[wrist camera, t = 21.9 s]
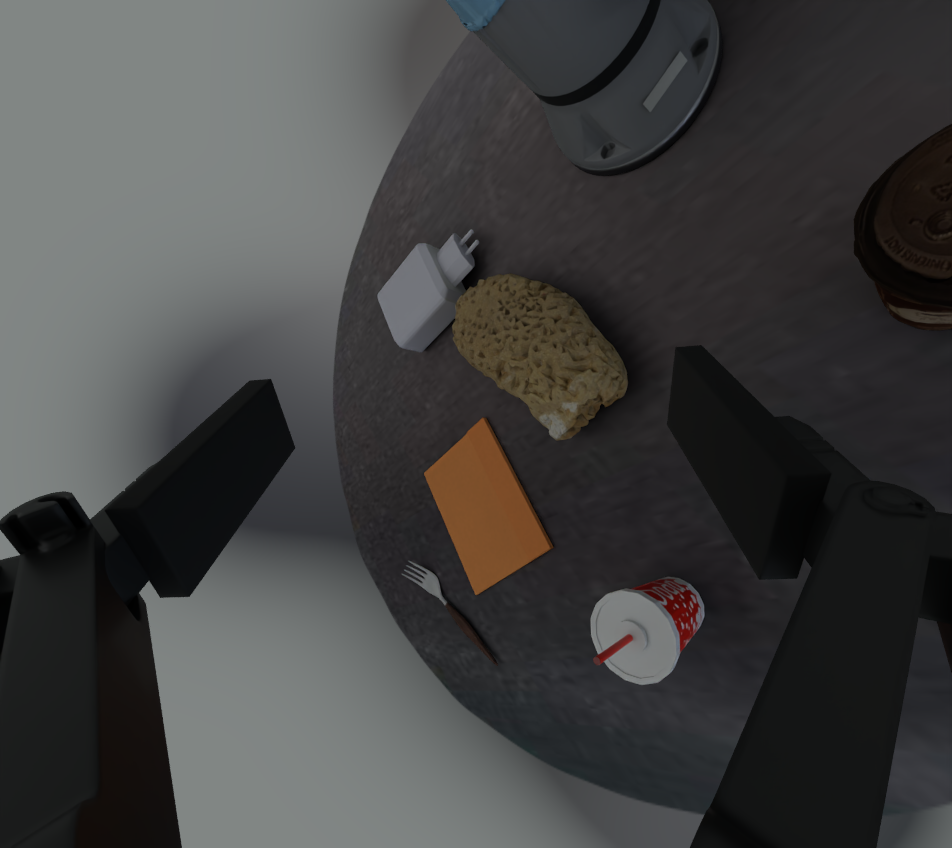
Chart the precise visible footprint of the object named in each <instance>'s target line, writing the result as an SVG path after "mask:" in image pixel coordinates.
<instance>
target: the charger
mask: <svg viewBox="0 0 952 848" xmlns="http://www.w3.org/2000/svg"><path fill="white" fill-rule="evenodd" d="M473 233H474V231H473V230H472V229H471V230H470V231H469V232H468V233H467V234H466V235H465V237H464V238H463V239H461V238H460V237H459V236H458V235H457V234H456V233H453V235H452V236H451V237H450V238H449V239H448V241H447V242H446V243H445V244H444V245H443V246H442V248H441V249H438V248H436V247H434V246H431V245H429V244H427V243H418V244H417V245H416V247H415V248H414V249H413V250H412V252H411V253H410V254H409V255H408V257H407V258H406V259H405V260H404V262H403V263H402V264H401V265H400V267H399V268H398V269H397V270H396V272H395V273H394V274H393V275H392V277H391V278H390V279H389V280H388V282H387V283H386V284H385V286H384V287H383V288H382V289H381V291H380V292H379V293H378V300H379V303H380V305H381V308H382V310H383V313H384V316H385V318H386V321H387V323H388V326H389V328H390V331H391V333H392V336H393V338H394V340H395V342H396V343H397V344H398V346H400V347H401V348H403V349H408V350H412V351H417V352H423V351H424V350H425V349H426V348H427V347H428V346H429V345H430V343H431V342H432V341H433V340H434V339H435V338H436V337H437V336H438V335H439V334H440V333H441V332H442V331H443V330H444V329H445V328H446V327H447V326H448V325H449V324H450V323H451V322H452V321H453V320H454V319H455V315H456V308H455V305H456V302H457V300H458V299H459V297H460V296H461V295H462V294H463V293H465V292H466V290H465V288H464V286H463V284H462V282H461V281H462V280H463V278H464V277H465V276H466V275H467V274H468V273H469V272H470V271H471V270H472V269H473V267H474V266H475V262H474V258H473V256H472V254H471V252H472V251H473V250H474V248H475V247H476V246H477V245H478V244H479V240H476V241H475V242H474V243H473V244H472V245H471V246H470V248H469V249H468V247H467V245H466V244H465V242H466V241H467V240H468V238H469V237H470V236H471V235H472V234H473Z"/></svg>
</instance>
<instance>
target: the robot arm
mask: <svg viewBox="0 0 952 848" xmlns="http://www.w3.org/2000/svg"><path fill="white" fill-rule="evenodd" d="M446 1H447V2H448V4H449V5H450V6H451V7H452V9H453V10H454V11H455V12H456V13H457V15H458V16H459V18H460V21H461V22H462V24H463V25H464V26H465V27H466V28H467V29H468V30H470V31H473V32H474V33H475V34H476V35H477V36H478V37H479V38H480V39H481V40H482V41H483V42H484V43H485V44H486V45H487V46H488V47H489V48H490V49H491V50H492V51H493V52H494V53H495V54H496V55H497V56H498V57H499V58H500V59H501V60H502V61H503V62H504V63H505V64H506V65H507V66H508V67H509V68H510V69H511V70H512V71H513V72H514V73H515V74H516V75H517V76H518V77H519V78H520V79H521V80H522V81H523V82H524V83H525V84H526V85H527V86H528V87H529V88H530V89H531V90H532V91H533V92H534V93H535V94H536V95H537V97H538V98H539V99H540V101H541V103H542V106H543V109H544V111H545V114H546V117H547V119H548V122H549V125H550V128H551V130H552V133H553V136H554V138H555V141H556V143H557V144H558V146H559V148H560V149H561V151H562V152H563V153H564V155H565V156H566V157H567V158H568V159H569V160H570V161H571V162H572V163H573V164H574V165H575V166H577V167H578V168H579V169H581V170H583V171H585V172H587V173H590V174H594V175H601V176H609V175H617V174H621V173H625V172H628V171H631V170H634V169H636V168H638V167H640V166H642V165H644V164H646V163H648V162H650V161H651V160H653V159H654V158H656V157H657V156H659V155H660V154H661V153H663V152H664V151H665V150H666V149H668V148H669V147H670V146H671V145H672V144H673V143H674V142H675V141H676V140H678V139H679V138H680V137H681V135H682V134H683V133H684V132H685V131H686V130H687V129H688V128H689V126H690V125H691V124H692V123H693V121H694V120H695V119H696V117H697V116H698V114H699V113H700V111H701V110H702V108H703V106H704V105H705V103H706V101H707V99H708V97H709V95H710V93H711V91H712V89H713V87H714V84H715V82H716V79H717V76H718V73H719V69H720V64H721V58H722V46H723V43H722V34H721V29H720V26H719V23H718V20H717V18H716V15H715V13H714V10H713V8H712V6H711V5H710V3H709V2H708V1H707V0H446ZM667 425H668V427H669V429H670V430H671V432H672V434H673V435H674V437H675V439H676V440H677V442H678V444H679V445H680V447H681V449H682V450H683V452H684V454H685V456H686V457H687V459H688V461H689V462H690V464H691V466H692V467H693V469H694V471H695V472H696V474H697V476H698V477H699V479H700V481H701V482H702V484H703V486H704V487H705V489H706V491H707V493H708V494H709V496H710V498H711V499H712V501H713V503H714V504H715V506H716V508H717V509H718V511H719V513H720V514H721V516H722V518H723V519H724V521H725V523H726V525H727V526H728V528H729V530H730V531H731V533H732V535H733V536H734V538H735V540H736V541H737V543H738V545H739V546H740V548H741V550H742V551H743V553H744V555H745V556H746V558H747V560H748V562H749V563H750V565H751V567H752V568H753V570H754V572H755V573H756V575H757V577H758V578H759V580H761V579H794V578H797V577H798V574H799V571H800V568H801V565H802V562H803V559H804V558H805V559H806V561H807V562H808V563H809V565H810V566H811V567H812V569H811V571H810V574H809V576H808V578H807V581H806V583H805V585H804V588H803V590H802V592H801V595H800V597H799V600H798V602H797V604H796V607H795V609H794V611H793V614H792V616H791V618H790V621H789V623H788V625H787V628H786V630H785V632H784V635H783V637H782V640H781V642H780V644H779V647H778V649H777V651H776V654H775V656H774V658H773V661H772V663H771V665H770V668H769V670H768V673H767V675H766V677H765V680H764V682H763V684H762V687H761V689H760V691H759V694H758V696H757V698H756V701H755V703H754V705H753V708H752V710H751V713H750V715H749V717H748V720H747V722H746V724H745V727H744V729H743V731H742V734H741V736H740V738H739V741H738V743H737V746H736V748H735V750H734V753H733V755H732V757H731V760H730V762H729V764H728V767H727V769H726V771H725V774H724V776H723V779H722V781H721V783H720V786H719V788H718V790H717V793H716V795H715V797H714V799H713V802H712V804H711V806H710V807H709V809H708V810H707V811H706V813H705V815H704V817H703V819H702V821H701V823H700V826H699V828H698V830H697V832H696V835H695V837H694V839H693V842H692V844H691V846H690V848H876V847H877V841H878V836H879V830H880V825H881V819H882V814H883V808H884V803H885V797H886V792H887V786H888V781H889V776H890V770H891V765H892V759H893V754H894V748H895V743H896V737H897V732H898V726H899V721H900V715H901V710H902V704H903V699H904V693H905V688H906V683H907V677H908V672H909V666H910V661H911V655H912V650H913V644H914V639H915V633H916V628H917V622H918V617H919V618H924V619H928V620H933V621H937V623H938V627H939V630H940V634H941V637H942V641H943V644H944V648H945V651H946V655H947V658H948V662H949V665H950V669H951V672H952V514H948V513H941V512H935V508H934V507H933V506H932V505H931V504H930V503H929V502H928V501H927V500H926V499H925V498H923V497H922V496H920V495H918V494H916V493H915V492H913V491H911V490H908V489H906V488H903V487H900V486H897V485H894V484H889V483H884V482H879V481H870V480H869V479H868V478H867V477H866V476H865V475H864V474H863V473H862V472H860V471H859V470H858V469H857V468H856V467H855V466H854V465H853V464H852V463H850V462H849V461H848V460H847V459H846V458H845V457H844V456H843V455H841V454H840V453H839V452H838V451H835V450H834V447H833V446H831V445H830V444H829V443H828V442H827V441H826V440H824V441H823V437H821V436H820V435H819V434H818V433H817V432H816V431H815V430H814V429H813V428H811V427H810V426H809V425H807V424H805V423H803V422H801V421H798V420H796V419H794V418H792V417H790V416H784V417H774V416H773V415H772V414H771V413H770V412H769V411H768V410H767V409H766V408H765V407H764V406H763V405H762V404H761V403H760V402H759V401H758V400H757V399H756V398H755V397H754V396H753V395H751V394H750V393H749V392H748V391H747V390H746V389H745V388H744V387H743V386H742V385H741V384H740V383H739V382H738V381H737V380H736V379H735V378H734V377H733V376H732V375H731V374H730V373H729V372H728V371H727V370H726V369H725V368H724V367H723V366H722V365H721V364H720V363H719V362H718V361H717V360H716V359H715V358H714V357H713V356H712V355H711V354H710V353H709V352H708V351H707V350H706V349H705V348H704V347H703V346H702V345H700V346H687V347H676V349H675V358H674V367H673V376H672V385H671V394H670V403H669V412H668V421H667ZM294 449H295V446H294V443H293V440H292V437H291V434H290V431H289V429H288V426H287V423H286V420H285V417H284V414H283V412H282V409H281V406H280V403H279V400H278V397H277V394H276V392H275V389H274V386H273V383H272V381H271V379H267V380H254V381H249V382H248V383H246V384H245V385H244V386H243V387H242V388H241V389H240V390H239V391H238V392H236V393H235V394H234V395H233V396H232V397H231V398H230V399H229V400H227V401H226V402H225V403H224V404H223V405H222V406H221V407H220V408H218V410H216V411H215V412H214V413H213V414H212V415H211V416H209V417H208V418H207V419H206V420H205V421H204V422H203V423H202V424H200V425H199V426H198V427H197V428H196V429H195V430H194V431H193V432H192V433H190V434H189V435H188V436H187V437H186V438H185V439H184V440H183V441H181V443H179V444H178V445H177V446H176V447H175V448H174V449H172V450H171V451H170V452H169V453H168V454H167V455H166V456H165V457H163V458H162V459H161V460H160V461H159V462H158V463H156V464H154V465H152V466H151V467H149V468H148V469H147V470H146V471H145V472H143V474H141V475H140V476H139V477H138V478H137V479H136V481H134V482H132V483H131V484H130V485H129V486H128V487H127V488H126V489H125V491H122V492H121V493H120V494H119V495H117V496H116V497H115V498H114V499H113V500H112V501H111V502H110V503H108V504H107V505H106V506H105V507H104V508H103V509H102V510H101V511H99V512H98V513H97V514H96V515H95V516H94V517H93V518H91V519H89V518H88V516H87V515H86V514H85V512H84V510H83V509H82V507H81V506H80V504H79V503H78V502H77V500H76V498H75V497H74V496H73V494H72V493H69V492H56V493H51V494H47V495H44V496H41V497H38V498H35V499H33V500H31V501H28V502H26V503H24V504H22V505H20V506H19V507H17V508H15V509H14V510H12V511H11V512H9V513H8V514H7V515H6V516H5V517H3V518H2V519H1V520H0V530H1V531H2V533H4V535H5V536H6V538H7V539H8V540H9V541H10V543H11V544H12V545H13V546H14V547H15V549H16V550H17V551H18V552H19V554H20V555H19V556H15V557H11V558H7V559H3V560H0V848H182V846H181V839H180V832H179V825H178V819H177V812H176V805H175V799H174V791H173V785H172V778H171V772H170V764H169V758H168V751H167V744H166V738H165V731H164V724H163V717H162V710H161V703H160V697H159V690H158V683H157V676H156V670H155V663H154V657H153V650H152V643H151V636H150V629H149V622H148V617H147V616H148V615H147V609H146V604H145V602H144V600H143V598H142V597H141V596H140V594H139V592H140V591H141V589H142V588H143V587H144V586H145V585H146V583H147V582H148V581H150V582H151V584H152V586H153V587H154V589H155V590H156V592H157V593H158V595H159V596H160V598H163V597H190V595H191V594H192V592H193V591H194V589H195V588H196V587H197V585H198V584H199V582H200V581H201V580H202V578H203V577H204V576H205V574H206V573H207V571H208V570H209V569H210V567H211V566H212V564H213V563H214V562H215V560H216V559H217V557H218V555H220V553H221V552H222V550H223V549H224V547H225V546H226V545H227V543H228V542H229V540H230V539H231V537H232V536H233V535H234V533H235V532H236V531H237V529H238V528H239V526H240V525H241V524H242V522H243V521H244V519H245V518H246V517H247V515H248V514H249V512H250V511H251V510H252V508H253V507H254V505H255V504H256V502H257V501H258V500H259V498H260V497H261V495H262V494H263V493H264V491H265V490H266V488H267V487H268V486H269V484H270V483H271V481H272V480H273V478H274V477H275V475H276V474H277V473H278V472H279V470H280V469H281V467H282V466H283V465H284V463H285V462H286V460H287V459H288V457H289V456H290V455H291V453H292V452H293V450H294Z"/></svg>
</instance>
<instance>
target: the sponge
mask: <svg viewBox="0 0 952 848" xmlns="http://www.w3.org/2000/svg"><path fill="white" fill-rule="evenodd" d="M455 308H456V315H455V322H454V323H453V325H452V328H453V334H454V338H453V340H454V342H455V344H456V346H457V348H458V350H459V353H460V354H461V355H462V356H463V357H465V358H466V360H467V361H468V362H469V363H470V364H471V365H472V366H473V367H474V368H476V369H477V370H478V371H481V372H483V375H484V376H487V377H491V378H492V379H493V380H494V381H495V382H496V383H497V385H498V387H499V388H500V389H505V390H506V391H507V392H509V393H510V394H512V395H514V396H515V397H519V398H520V399H521V400H523V401H524V402H525V403H526V404H527V405H528V406H529V409H530V411H531V413H532V415H533V416H534V417H535V418H536V419H537V420H538V421H539V422H540V423H541V424H542V425H543V426H545V427H546V428H548V429H549V435H550V436H552V437H553V438H554V439H555V440H556V441H557V440H565V439H570V438H571V437H572V436H574V435H575V434H576V433H578V432H579V431H580V429H581V427H583V426H586V425H588V422H589V421H588V420H590V419H593V418H595V414H596V413H597V412H598V410H599V409H600V405H601V404H604V406H605V407H607V406H609V405H611V404H612V403H613V402H614V401H616V400H617V399H620V398H622V397H623V396H624V394H625V392H626V389H627V385H628V379H627V371H626V368H625V366H624V363H623V361H622V359H621V357H620V356H619V354H618V353H617V351H616V350H615V348H614V347H613V345H612V344H611V343H610V342H609V341H607V340H606V339H605V338H604V336H603V335H602V334H601V333H600V331H599V330H598V329H597V328H596V327H595V326H594V325H593V323H592V322H591V321H590V319H589V317H588V315H587V314H586V313H585V311H584V310H583V308H582V307H581V305H580V304H579V303H578V302H577V301H576V300H575V299H574V298H573V297H571V296H569V295H568V294H567V293H566V292H565V293H563V292H561V291H560V290H559V289H558V288H554V287H553V286H551V285H549V284H548V283H542V282H540V281H538V280H537V281H533V280H530V279H528V278H525V277H521V276H518V275H514V274H511V273H510V274H506V275H501V274H499V275H496V276H493V277H488V278H487V279H486V280H481V279H480V280H479V282H478V284H477V286H476V287H474V288H472V287H469V289H468V290H467V291H466V292H465V293H463V294H462V295H461V296H460V297H459V299H458V300H457V302H456V305H455Z"/></svg>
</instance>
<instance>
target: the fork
mask: <svg viewBox="0 0 952 848" xmlns="http://www.w3.org/2000/svg"><path fill="white" fill-rule="evenodd" d="M408 562H410V563H412V564H414V565H415V566H417V567H419V568H420V569H422V570H424V571H425V572H426V573H427V574H424V573H422V572H420V571H418V570H416V569H414V568H412V567H410V566H408V565H406V566H407V567H409V568H411V569H413V570H414V571H416V572H418V573H419V574H421V575H422V576H424V577H425V579H424V578H421V577H420V576H418V575H416V574H414V573H411V572H409V571H407V570H405V569H404V571H406V572H408V573H410V574H412V575H413V576H415V577H417V578H418V579H420V580H421V581H422V582H423V583H421V582H419V581H417V580H415V579H413V578H411V577H409V576H407V575H404V574H402V575H404V576H405V577H407V578H409V579H411V580H412V581H414V582H415V583H417V584H419V585H420V586H421V587H423V588H424V589H425V590H426V591H428V592H429V593H431V594H432V595H434V596H436V597H438V598H439V599H440V600H441V601H442V602H443V603H444V605H445V606H446V608H447V609H448V611H449V612H450V614H451V615H452V617H453V618H454V620H455V621H456V623H457V624H458V626H459V627H460V628H461V630H462V631H463V632H464V633H465V634H466V635H467V636H468V637H469V638H470V639H471V640H472V641H473V642H474V643H475V644H476V645H477V646H478V647H479V649H480V650H481V651H482V652H483V653H484V654H485V655H486V656H487V657H488V658H489V659H490V660H491V661H492V662H493V663H494V664H495V665H496V666H498V663H497V662H496V660H495V659H494V657H493V656H492V654H491V653H490V652H489V650H488V649H487V648H486V646H485V645H484V644H483V642H482V641H481V639H480V638H479V637H478V635H477V634H476V632H475V631H474V629H473V628H472V627H471V625H470V624H469V623H468V622H467V621H466V619H465V618H464V617H463V616H462V615H461V614H460V613H459V612H457V611H456V610H455V609H454V608H453V607H452V606H451V605H450V604H449V603H448V602H447V601H446V600H445V599H444V598H443V596H442V593H441V589H440V583H439V580H438V578H437V576H436V575H435V574H434V573H432V572H431V571H429V570H427V569H425V568H423V567H421V566H419V565H417V564H415V563H413V562H411V561H409V560H408Z"/></svg>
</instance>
